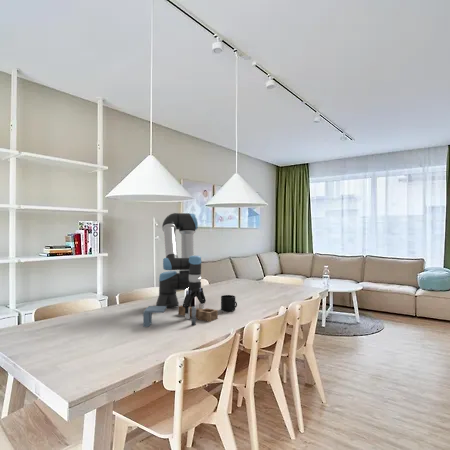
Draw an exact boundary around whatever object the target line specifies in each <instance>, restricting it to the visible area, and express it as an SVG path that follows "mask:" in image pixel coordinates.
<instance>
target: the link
mask: <svg viewBox="0 0 450 450" xmlns="http://www.w3.org/2000/svg"><path fill="white" fill-rule="evenodd" d="M182 306H183V304H182V305H179V306H178V311H177V312H178V313H177V314H178V315H180V316H184V317H185V308H184V307H182ZM189 308H190V318H192V306H189ZM218 311H219V310H218V309H213V308H203V309H200V308H199V307H196V319H198V320H199V321H204V322H209V323H210V322H213V321H215V320H217V319H219V318H218V314H219V312H218Z"/></svg>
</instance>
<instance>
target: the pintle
mask: <svg viewBox="0 0 450 450" xmlns="http://www.w3.org/2000/svg"><path fill="white" fill-rule="evenodd" d="M191 307H192V317H191V326H196V325H197V318H196V308H197V306H196V305H192V306H191Z"/></svg>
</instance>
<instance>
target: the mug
mask: <svg viewBox="0 0 450 450" xmlns="http://www.w3.org/2000/svg"><path fill="white" fill-rule="evenodd" d="M237 306H238V302H237V301H236V296H235V295H233V294H223V295H221V296H220V310H221V311H222V312H225V313H230V312H235V311H236V308H237Z"/></svg>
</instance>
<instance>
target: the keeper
mask: <svg viewBox="0 0 450 450" xmlns="http://www.w3.org/2000/svg"><path fill="white" fill-rule="evenodd" d="M167 309H168V308H167V306H156V305H148V307H146V308H145V309H144V311H143V313H142V314H143V315H142V316H143V323H142V325H143V327H147V328H149V327H150V326H151V324H152V321H153V319H152V318H153V314H154V313H159V314H160V313H162V314H163V313H164V312H165V311H166V310H167Z"/></svg>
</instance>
